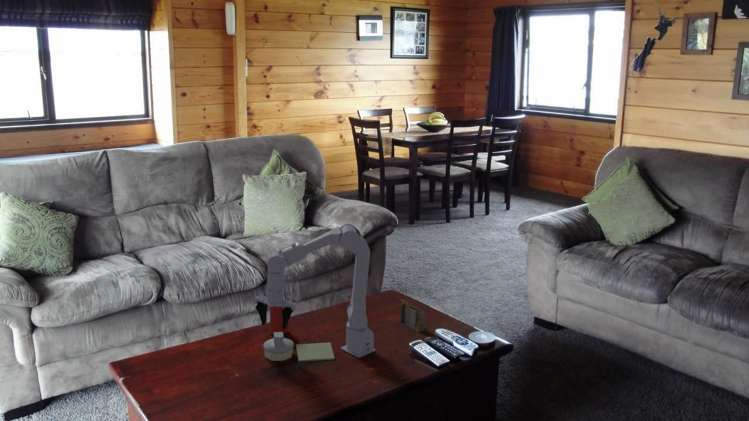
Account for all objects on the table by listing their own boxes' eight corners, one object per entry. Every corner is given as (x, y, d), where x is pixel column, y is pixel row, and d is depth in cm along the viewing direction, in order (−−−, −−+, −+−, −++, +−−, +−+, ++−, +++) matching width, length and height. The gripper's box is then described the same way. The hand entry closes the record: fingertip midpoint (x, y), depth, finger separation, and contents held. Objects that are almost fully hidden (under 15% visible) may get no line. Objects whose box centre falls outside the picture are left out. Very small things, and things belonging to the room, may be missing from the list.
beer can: (290, 329, 249) (290, 298, 246) (286, 336, 242) (285, 305, 239) (272, 328, 249) (272, 297, 246) (268, 335, 243) (267, 304, 240)
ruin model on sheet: (399, 322, 257) (400, 299, 255) (405, 321, 259) (406, 297, 257) (417, 333, 248) (418, 309, 246) (424, 331, 250) (425, 307, 248)
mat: (330, 343, 238) (330, 342, 237) (334, 359, 226) (334, 358, 226) (296, 345, 235) (296, 344, 235) (298, 361, 224) (298, 360, 224)
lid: (292, 339, 233) (292, 327, 232) (294, 352, 224) (294, 340, 223) (263, 340, 232) (263, 329, 231) (264, 354, 222) (263, 341, 221)
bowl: (297, 354, 229) (297, 346, 228) (276, 363, 222) (276, 355, 222) (281, 346, 235) (281, 338, 234) (259, 354, 228) (259, 346, 228)
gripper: (250, 288, 223) (249, 326, 226) (291, 295, 219) (289, 334, 222) (259, 281, 229) (258, 318, 233) (299, 288, 226) (297, 326, 229)
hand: (274, 325), depth 228 cm, fingers open, 7 cm apart
